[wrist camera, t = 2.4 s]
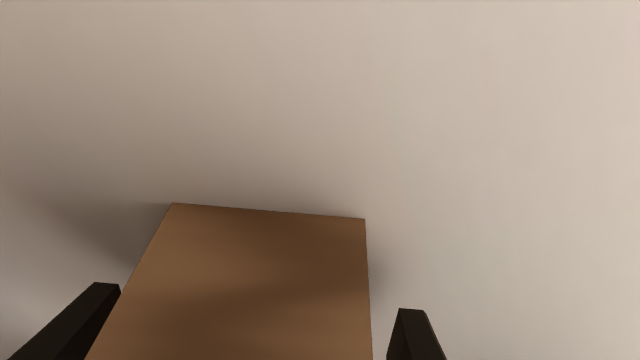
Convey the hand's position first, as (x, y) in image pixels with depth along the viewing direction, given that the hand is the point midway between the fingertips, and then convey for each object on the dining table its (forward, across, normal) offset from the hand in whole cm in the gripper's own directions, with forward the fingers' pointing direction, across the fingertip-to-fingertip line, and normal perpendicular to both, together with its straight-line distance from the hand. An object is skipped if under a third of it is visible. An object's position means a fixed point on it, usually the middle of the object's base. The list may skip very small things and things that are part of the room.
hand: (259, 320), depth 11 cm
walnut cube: (+2, 0, 0) cm, 2 cm away
